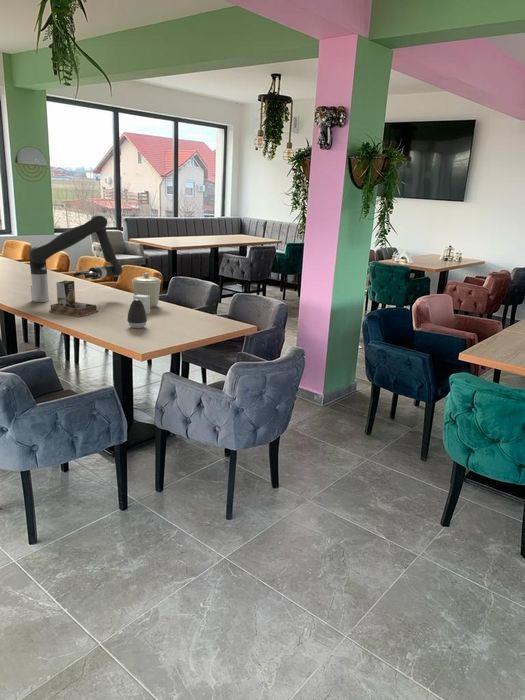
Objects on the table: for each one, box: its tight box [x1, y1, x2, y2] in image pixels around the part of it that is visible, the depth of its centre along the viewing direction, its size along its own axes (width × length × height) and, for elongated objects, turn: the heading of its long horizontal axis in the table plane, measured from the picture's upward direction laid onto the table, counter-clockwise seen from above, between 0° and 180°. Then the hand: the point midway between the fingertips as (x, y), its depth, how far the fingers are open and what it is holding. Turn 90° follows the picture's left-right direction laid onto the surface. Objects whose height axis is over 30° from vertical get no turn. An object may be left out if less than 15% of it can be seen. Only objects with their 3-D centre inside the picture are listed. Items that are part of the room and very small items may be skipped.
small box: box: [132, 294, 151, 315], centre depth 315 cm, size 8×6×10 cm
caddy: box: [48, 301, 99, 318], centre depth 311 cm, size 22×16×5 cm
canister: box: [131, 272, 162, 309], centre depth 331 cm, size 18×18×21 cm
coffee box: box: [56, 280, 76, 307], centre depth 311 cm, size 9×6×16 cm
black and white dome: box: [127, 299, 148, 329], centre depth 282 cm, size 10×10×15 cm
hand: (79, 275), depth 319 cm, fingers open, 8 cm apart
